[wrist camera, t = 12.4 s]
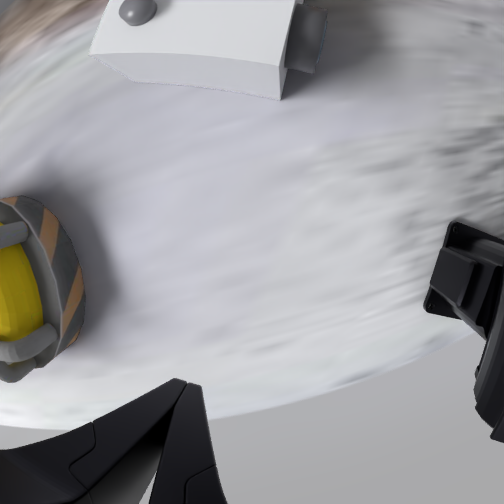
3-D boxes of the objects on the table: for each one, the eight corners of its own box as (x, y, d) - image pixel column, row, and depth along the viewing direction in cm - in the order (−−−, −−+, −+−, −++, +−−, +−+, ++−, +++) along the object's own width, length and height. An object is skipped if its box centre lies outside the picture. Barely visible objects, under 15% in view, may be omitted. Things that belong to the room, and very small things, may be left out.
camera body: (328, 7, 16) (342, -52, 9) (307, 106, 17) (319, 68, 11) (161, -9, 16) (124, -57, 9) (128, 82, 18) (72, 51, 11)
